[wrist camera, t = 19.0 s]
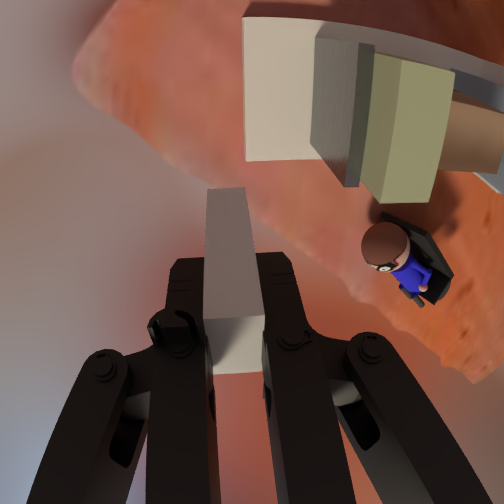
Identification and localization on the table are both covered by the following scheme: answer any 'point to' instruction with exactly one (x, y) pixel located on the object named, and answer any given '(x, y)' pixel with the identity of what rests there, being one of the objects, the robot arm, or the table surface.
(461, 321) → the table surface
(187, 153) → the table surface
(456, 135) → the book
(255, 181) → the table surface
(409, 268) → the character figurine
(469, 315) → the table surface
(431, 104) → the book
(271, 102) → the white book rack
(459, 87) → the book
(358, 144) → the bookend
